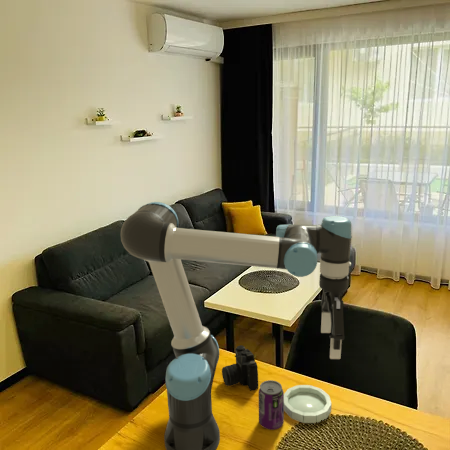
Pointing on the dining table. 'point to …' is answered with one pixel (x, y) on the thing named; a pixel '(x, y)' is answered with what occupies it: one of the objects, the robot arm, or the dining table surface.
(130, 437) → the dining table surface
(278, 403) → the beverage can
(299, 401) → the tray
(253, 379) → the camera
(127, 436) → the dining table surface
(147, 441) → the dining table surface
